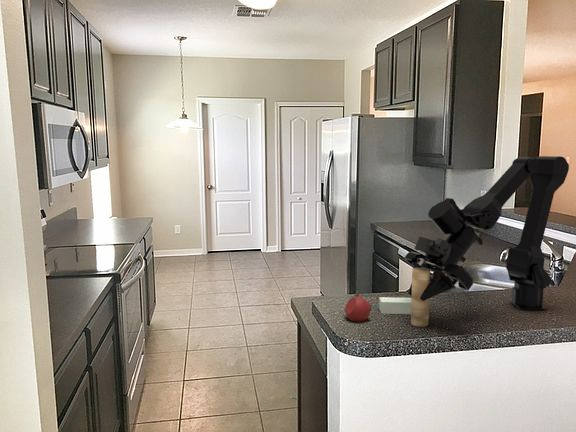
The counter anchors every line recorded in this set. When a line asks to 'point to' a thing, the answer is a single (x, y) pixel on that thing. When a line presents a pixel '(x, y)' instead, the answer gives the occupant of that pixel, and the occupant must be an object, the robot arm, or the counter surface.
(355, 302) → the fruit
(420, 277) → the oak post
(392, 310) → the white block
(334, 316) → the counter surface
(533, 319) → the counter surface
